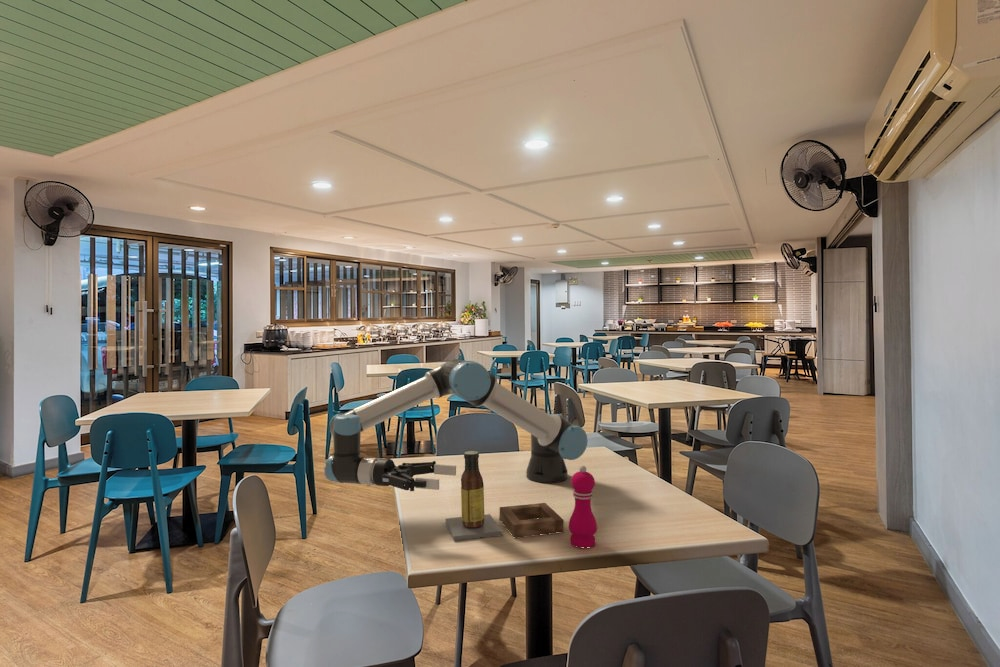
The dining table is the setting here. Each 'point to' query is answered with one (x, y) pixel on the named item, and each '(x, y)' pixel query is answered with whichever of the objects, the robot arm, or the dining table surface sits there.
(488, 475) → the dining table surface
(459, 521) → the slate tile
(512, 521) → the bottle holder
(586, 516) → the pepper mill
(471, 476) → the sauce bottle
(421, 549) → the dining table surface
